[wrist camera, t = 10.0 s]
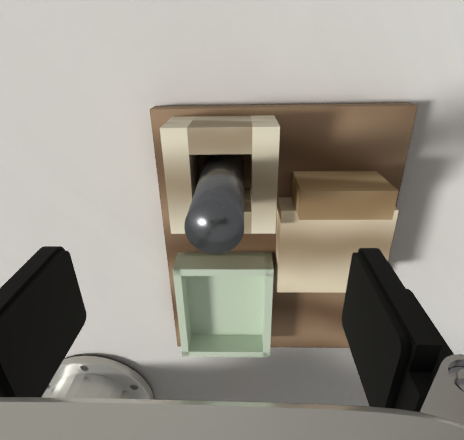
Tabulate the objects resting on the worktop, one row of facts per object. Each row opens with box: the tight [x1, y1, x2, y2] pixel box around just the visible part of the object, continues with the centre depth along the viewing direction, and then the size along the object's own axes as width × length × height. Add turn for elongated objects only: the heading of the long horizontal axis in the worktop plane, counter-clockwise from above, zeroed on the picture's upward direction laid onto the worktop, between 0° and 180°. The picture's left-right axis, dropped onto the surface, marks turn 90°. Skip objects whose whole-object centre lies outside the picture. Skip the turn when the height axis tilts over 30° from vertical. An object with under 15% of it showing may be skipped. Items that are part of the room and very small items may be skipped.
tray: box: [172, 252, 274, 357], centre depth 29 cm, size 9×8×2 cm
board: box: [150, 103, 417, 348], centre depth 27 cm, size 22×18×6 cm
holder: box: [160, 115, 280, 234], centre depth 23 cm, size 7×7×4 cm
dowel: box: [184, 154, 244, 254], centre depth 20 cm, size 3×3×10 cm
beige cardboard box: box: [275, 197, 399, 293], centre depth 26 cm, size 7×8×2 cm
